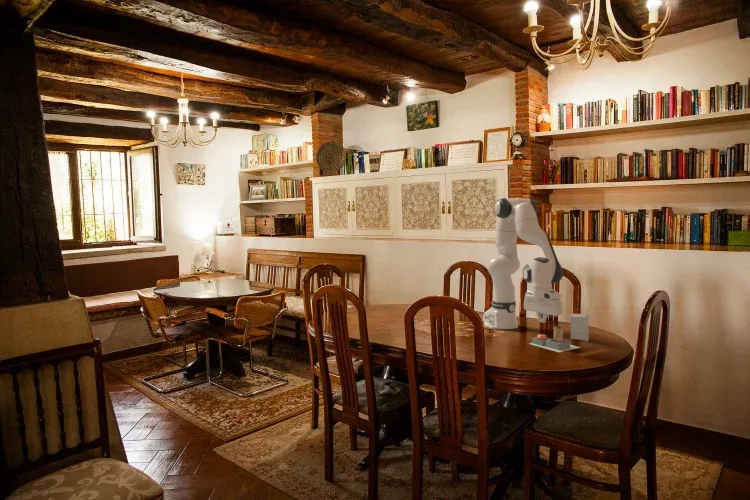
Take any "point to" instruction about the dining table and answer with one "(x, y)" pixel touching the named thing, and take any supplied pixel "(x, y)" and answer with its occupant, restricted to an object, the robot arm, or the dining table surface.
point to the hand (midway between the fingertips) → (542, 322)
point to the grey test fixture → (553, 345)
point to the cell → (558, 334)
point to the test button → (541, 337)
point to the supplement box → (579, 327)
